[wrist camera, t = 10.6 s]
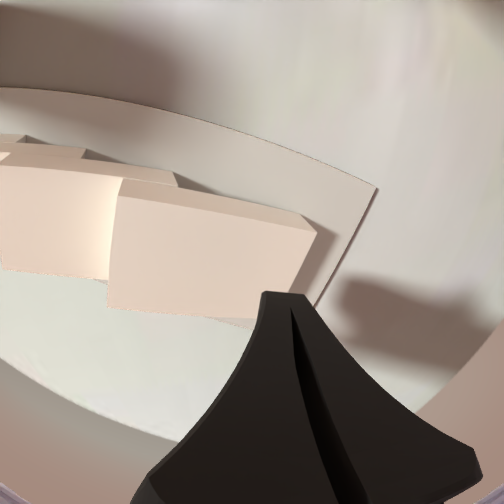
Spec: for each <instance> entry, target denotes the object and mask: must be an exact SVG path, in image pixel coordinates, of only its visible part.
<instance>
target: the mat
mask: <svg viewBox="0 0 504 504" xmlns="http://www.w3.org/2000/svg"><path fill="white" fill-rule="evenodd" d="M0 134H22V135H26V143H31V144H45V145H57V146H68V147H78V148H86V154H85V159H89V160H98V161H106V162H113V163H121V164H128V165H135V166H141V167H148V168H154V169H160V170H166V171H172V172H173V175H174V177H175V180H176V182H177V185H178V188H183V189H189V190H194V191H199V192H204V193H209V194H214V195H219V196H224V197H228V198H233V199H238V200H242V201H247V202H251V203H256V204H260V205H265V206H269V207H274V208H278V209H282V210H286V211H291V212H295V213H299V214H300V215H301V216H302V217H303V218H304V219H305V220H306V221H307V222H308V223H309V224H310V225H311V226H312V228H313V229H314V230H315V231H316V232H317V235H316V237H315V239H314V241H313V243H312V245H311V247H310V249H309V251H308V253H307V255H306V257H305V259H304V261H303V263H302V265H301V267H300V269H299V271H298V273H297V275H296V277H295V279H294V281H293V283H292V285H291V287H290V289H289V291H288V293H297V294H304V295H305V296H306V297H307V299H308V300H309V301H310V303H311V304H312V306H314V304H315V302H316V301H317V299H318V297H319V295H320V294H321V292H322V290H323V289H324V287H325V285H326V283H327V282H328V280H329V278H330V276H331V274H332V273H333V271H334V269H335V267H336V265H337V264H338V262H339V260H340V258H341V256H342V254H343V253H344V251H345V249H346V247H347V245H348V243H349V241H350V239H351V237H352V236H353V234H354V232H355V230H356V228H357V226H358V224H359V222H360V220H361V218H362V216H363V214H364V212H365V210H366V208H367V206H368V204H369V202H370V200H371V198H372V196H373V193H374V191H375V189H376V187H375V186H373V185H371V184H369V183H367V182H365V181H363V180H361V179H359V178H356V177H354V176H352V175H350V174H348V173H346V172H343V171H341V170H339V169H337V168H334V167H332V166H330V165H327V164H325V163H323V162H320V161H318V160H315V159H313V158H311V157H308V156H306V155H303V154H301V153H298V152H295V151H293V150H290V149H288V148H285V147H282V146H280V145H277V144H274V143H272V142H269V141H266V140H263V139H260V138H257V137H255V136H252V135H249V134H246V133H243V132H240V131H237V130H233V129H230V128H227V127H224V126H221V125H217V124H214V123H211V122H207V121H204V120H200V119H197V118H193V117H189V116H186V115H182V114H178V113H174V112H170V111H166V110H162V109H158V108H153V107H149V106H144V105H140V104H135V103H130V102H125V101H120V100H115V99H109V98H103V97H97V96H91V95H84V94H77V93H69V92H61V91H52V90H41V89H28V88H8V87H0ZM94 280H96V281H99V282H102V283H104V284H107V285H108V280H101V279H94ZM204 317H207V318H211V319H214V320H218V321H221V322H225V323H228V324H232V325H236V326H239V327H243V328H247V329H251V330H254V328H255V325H256V321H257V319H252V318H227V317H208V316H204Z"/></svg>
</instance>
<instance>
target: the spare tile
mask: <svg viewBox="0 0 504 504" xmlns="http://www.w3.org/2000/svg"><path fill="white" fill-rule="evenodd" d="M316 235H317V232H316V231H315V230H314V229H313V228H312V226H311V225H310V224H309V223H308V222H307V221H306V220H305V219H304V218H303V217H302V216H301V215H300V214H299V213H295V212H291V211H286V210H282V209H278V208H274V207H269V206H265V205H260V204H256V203H251V202H247V201H242V200H238V199H233V198H228V197H224V196H219V195H214V194H209V193H204V192H199V191H194V190H189V189H183V188H178V187H173V186H167V185H162V184H156V183H151V182H145V181H139V180H133V179H127V178H123V180H122V183H121V186H120V189H119V193H118V196H117V203H116V209H115V216H114V224H113V232H112V240H111V250H110V261H109V274H108V292H107V308H115V309H124V310H134V311H144V312H154V313H166V314H178V315H192V316H208V317H227V318H252V319H257V315H258V309H259V304H260V298H261V293H262V292H264V291H276V292H286V293H288V291H289V289H290V287H291V285H292V283H293V281H294V279H295V277H296V275H297V273H298V271H299V269H300V267H301V265H302V263H303V261H304V259H305V257H306V255H307V253H308V251H309V249H310V247H311V245H312V243H313V241H314V239H315V237H316Z"/></svg>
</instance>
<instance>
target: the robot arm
mask: <svg viewBox="0 0 504 504" xmlns="http://www.w3.org/2000/svg"><path fill="white" fill-rule="evenodd" d="M482 477H483V474H482V471H481V468H480V465H479V462H478V460H477V457H476V454H475V451H474V449H473V448H472V447H469V446H467V445H466V444H463V443H462V442H460V441H458V440H456V439H454V438H452V437H450V436H448V435H446V434H444V433H443V432H441V431H439V430H438V429H436V428H435V427H433V426H431V425H430V424H428V423H427V422H425V421H424V420H422V419H421V418H419V417H418V416H416V415H415V414H414V413H412V412H411V411H410V410H408V409H407V408H406V407H405V406H403V405H402V404H401V403H400V402H398V401H397V400H396V399H395V398H393V397H392V396H391V395H390V394H389V393H388V392H386V391H385V390H384V389H383V388H382V387H381V386H380V385H379V384H378V383H377V382H376V381H375V380H374V379H373V378H372V377H371V376H370V375H368V374H367V373H366V371H365V370H364V369H363V368H362V367H361V366H360V365H359V364H358V363H357V362H356V361H355V360H354V358H353V357H352V356H351V355H350V354H349V353H348V352H347V351H346V349H345V348H344V347H343V346H342V344H341V343H340V342H339V341H338V339H337V338H336V337H335V336H334V334H333V333H332V332H331V330H330V329H329V328H328V326H327V325H326V324H325V322H324V321H323V320H322V318H321V317H320V315H319V314H318V313H317V311H316V310H315V308H314V307H313V306H312V304H311V303H310V301H309V300H308V299H307V297H306V296H305V295H304V294H297V293H286V292H276V291H264V292H262V293H261V298H260V304H259V309H258V315H257V321H256V325H255V328H254V330H253V333H252V336H251V338H250V340H249V342H248V344H247V346H246V349H245V351H244V353H243V355H242V357H241V359H240V361H239V362H238V364H237V366H236V368H235V370H234V371H233V373H232V375H231V376H230V378H229V379H228V381H227V383H226V384H225V386H224V387H223V389H222V390H221V392H220V393H219V394H218V396H217V397H216V399H215V400H214V402H213V403H212V404H211V406H210V407H209V408H208V410H207V411H206V412H205V413H204V415H203V416H202V417H201V418H200V419H199V421H198V422H197V423H196V424H195V425H194V427H193V428H192V429H191V430H190V431H189V432H188V433H187V435H186V436H185V437H184V438H183V439H182V440H181V441H180V442H179V443H178V445H177V446H176V447H175V448H173V449H172V451H170V452H169V454H168V455H166V456H165V457H164V458H163V459H162V460H161V461H160V462H159V463H158V464H157V465H156V466H155V467H154V468H152V469H151V470H150V471H149V472H148V473H147V475H146V477H145V479H144V480H143V482H142V483H141V485H140V486H139V488H138V489H137V491H136V493H135V494H134V496H133V498H132V500H131V502H130V504H444V502H445V501H447V500H448V499H451V498H453V497H454V496H456V495H458V494H460V493H462V492H464V491H465V490H467V489H468V488H470V487H472V486H474V485H475V484H477V483H478V482H479V481H481V479H482ZM0 504H32V503H30V502H28V501H26V500H25V499H23V498H21V497H20V496H18V495H17V494H16V493H15V492H14V491H13V490H11V489H10V488H8V487H7V486H5V485H3V484H2V483H1V482H0ZM473 504H504V483H503V484H502V485H500V486H499V487H497V488H496V489H494V490H493V491H491V492H490V494H488V495H487V496H485V497H483V498H482V499H480V500H479V501H477V502H475V503H473Z"/></svg>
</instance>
